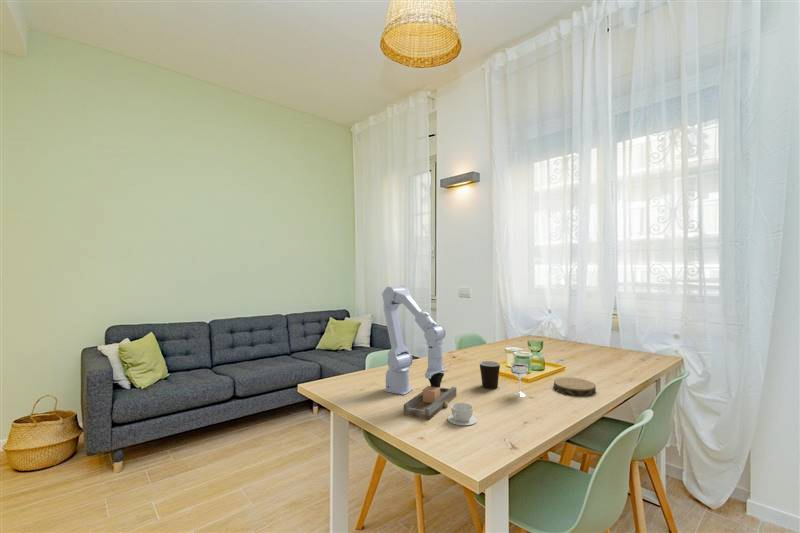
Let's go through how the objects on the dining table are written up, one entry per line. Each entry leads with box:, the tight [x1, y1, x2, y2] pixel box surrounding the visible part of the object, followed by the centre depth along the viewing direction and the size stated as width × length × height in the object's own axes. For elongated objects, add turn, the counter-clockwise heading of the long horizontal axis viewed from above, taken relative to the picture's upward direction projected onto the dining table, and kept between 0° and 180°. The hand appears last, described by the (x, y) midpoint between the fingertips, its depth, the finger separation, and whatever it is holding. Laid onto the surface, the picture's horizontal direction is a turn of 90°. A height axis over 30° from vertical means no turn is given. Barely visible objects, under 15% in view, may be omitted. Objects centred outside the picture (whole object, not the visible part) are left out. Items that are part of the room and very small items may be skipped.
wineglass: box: [510, 361, 529, 397], centre depth 150 cm, size 7×7×12 cm
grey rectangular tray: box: [403, 386, 457, 421], centre depth 140 cm, size 12×26×4 cm, turn 151°
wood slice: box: [553, 376, 597, 397], centre depth 155 cm, size 16×16×3 cm
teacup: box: [447, 402, 478, 426], centre depth 126 cm, size 10×10×5 cm
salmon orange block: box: [422, 385, 440, 403], centre depth 140 cm, size 5×5×4 cm
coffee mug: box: [479, 360, 501, 390], centre depth 161 cm, size 12×9×10 cm
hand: (435, 392), depth 143 cm, fingers closed
